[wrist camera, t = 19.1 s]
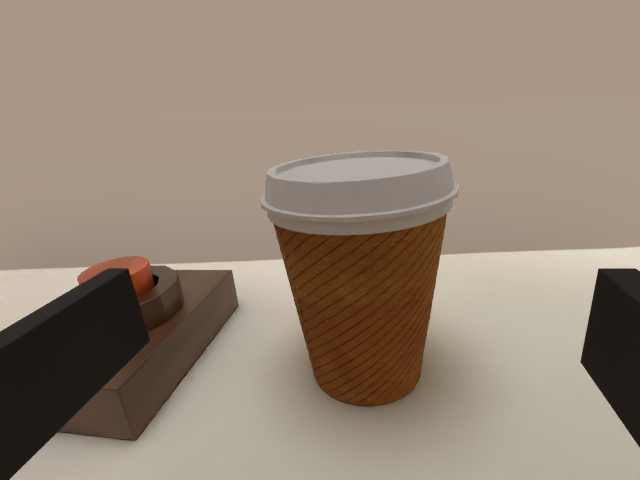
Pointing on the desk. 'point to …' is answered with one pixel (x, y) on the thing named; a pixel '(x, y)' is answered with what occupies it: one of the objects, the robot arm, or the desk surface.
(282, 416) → the desk surface
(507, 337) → the desk surface
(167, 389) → the console
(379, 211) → the disposable coffee cup
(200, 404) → the desk surface
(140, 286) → the button
